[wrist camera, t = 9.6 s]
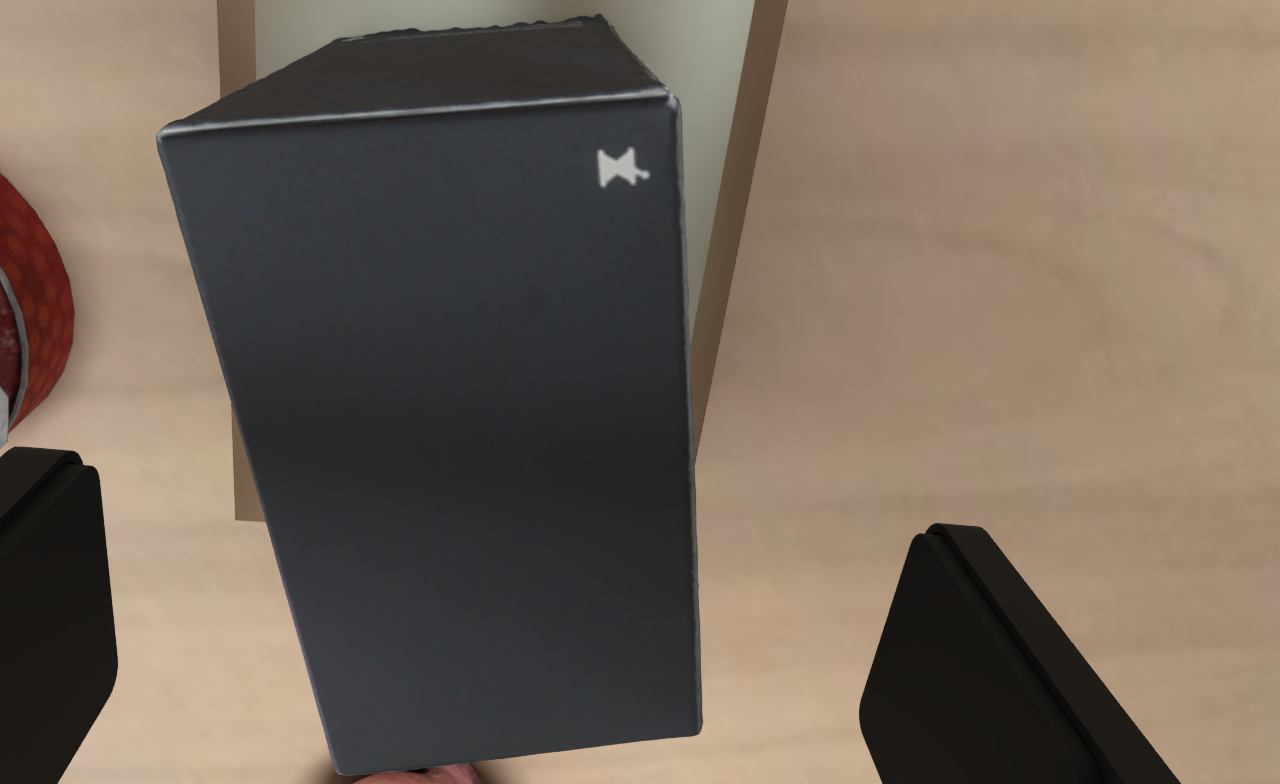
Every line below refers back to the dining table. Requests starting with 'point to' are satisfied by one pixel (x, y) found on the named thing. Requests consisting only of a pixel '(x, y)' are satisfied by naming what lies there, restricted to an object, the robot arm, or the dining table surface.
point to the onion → (427, 776)
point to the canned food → (29, 310)
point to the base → (654, 31)
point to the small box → (462, 381)
